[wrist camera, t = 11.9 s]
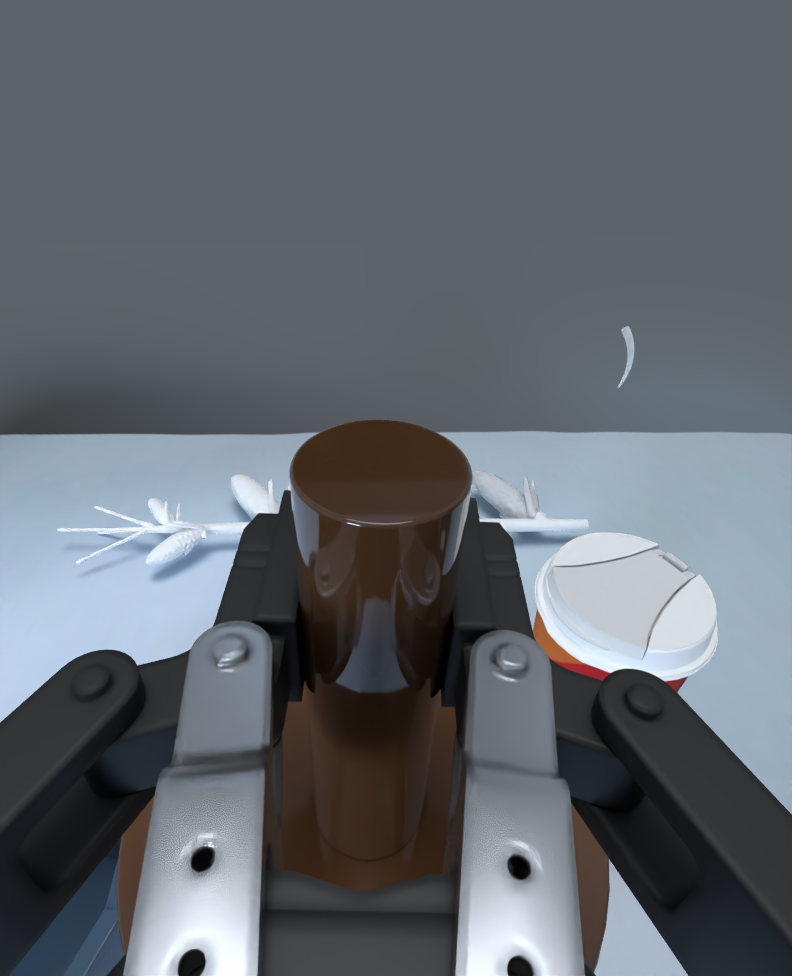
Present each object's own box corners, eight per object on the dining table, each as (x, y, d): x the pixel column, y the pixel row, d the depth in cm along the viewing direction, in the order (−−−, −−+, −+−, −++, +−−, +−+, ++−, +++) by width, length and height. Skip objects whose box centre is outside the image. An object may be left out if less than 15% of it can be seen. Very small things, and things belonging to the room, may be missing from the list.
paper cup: (561, 677, 38) (622, 505, 30) (661, 780, 33) (768, 609, 25) (463, 737, 35) (500, 561, 26) (559, 862, 30) (643, 695, 21)
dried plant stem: (557, 488, 54) (91, 490, 50) (631, 296, 41) (-1, 279, 37) (596, 599, 46) (45, 612, 42) (704, 407, 33) (-94, 400, 29)
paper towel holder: (357, 590, 22) (361, 277, 15) (670, 805, 16) (902, 460, 9) (35, 846, 15) (-238, 471, 8) (391, 1392, 9) (520, 1727, 2)
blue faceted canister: (109, 803, 31) (48, 679, 25) (238, 969, 26) (202, 868, 19) (-134, 999, 24) (-304, 901, 18) (-27, 1274, 19) (-212, 1272, 13)
